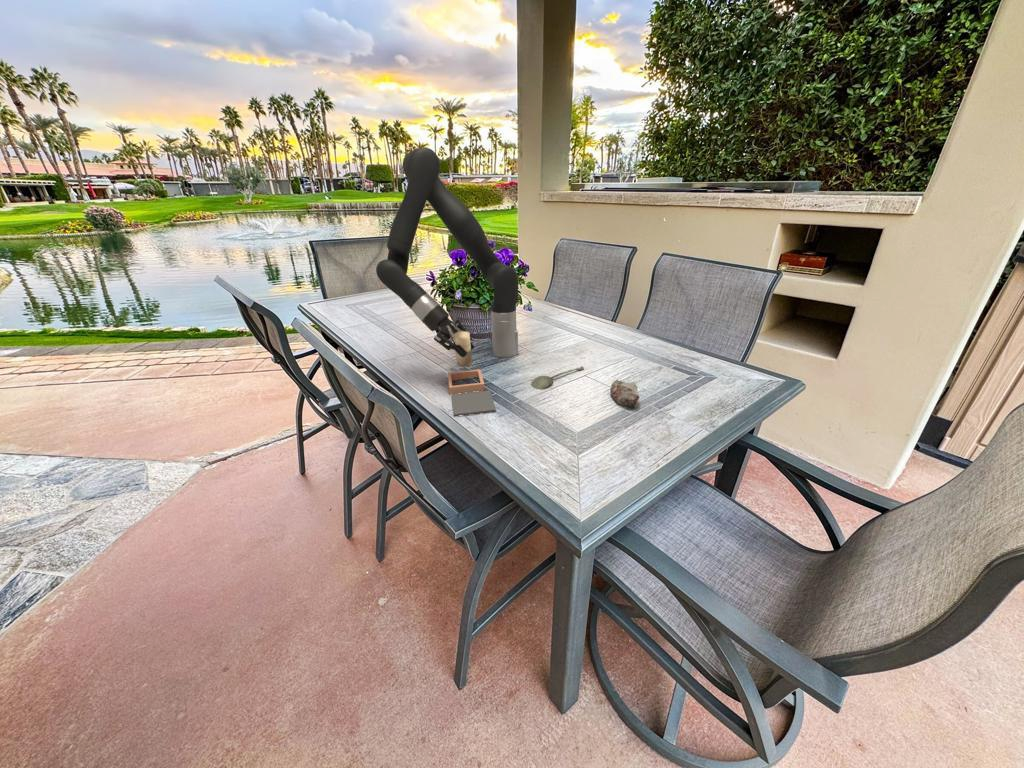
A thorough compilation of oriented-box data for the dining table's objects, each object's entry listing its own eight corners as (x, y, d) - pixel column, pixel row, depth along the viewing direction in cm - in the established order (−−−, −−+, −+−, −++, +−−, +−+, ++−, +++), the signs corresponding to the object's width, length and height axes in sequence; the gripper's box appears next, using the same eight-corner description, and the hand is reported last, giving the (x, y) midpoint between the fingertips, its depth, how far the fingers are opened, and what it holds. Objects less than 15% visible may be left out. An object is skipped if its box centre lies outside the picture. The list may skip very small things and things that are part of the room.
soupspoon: (526, 386, 129) (539, 395, 124) (526, 377, 127) (539, 386, 123) (576, 367, 140) (589, 374, 135) (576, 358, 138) (590, 365, 133)
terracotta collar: (480, 375, 134) (480, 369, 133) (484, 390, 125) (484, 383, 124) (448, 379, 133) (447, 372, 132) (449, 394, 123) (449, 387, 122)
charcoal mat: (490, 392, 124) (490, 390, 123) (495, 411, 113) (495, 409, 113) (451, 396, 122) (451, 394, 121) (454, 416, 111) (453, 414, 111)
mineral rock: (609, 386, 126) (610, 373, 124) (635, 387, 124) (636, 375, 122) (609, 409, 113) (611, 396, 111) (638, 412, 112) (640, 398, 110)
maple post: (471, 359, 128) (468, 330, 123) (473, 365, 124) (470, 336, 119) (456, 361, 127) (453, 332, 122) (457, 367, 123) (454, 337, 118)
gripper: (424, 311, 113) (466, 354, 115) (447, 298, 125) (485, 337, 127) (411, 327, 117) (452, 368, 119) (435, 313, 129) (471, 350, 131)
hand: (469, 352), depth 123 cm, fingers closed on maple post, 4 cm apart
